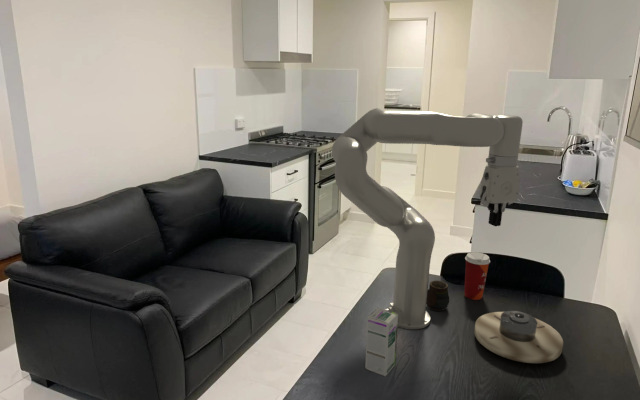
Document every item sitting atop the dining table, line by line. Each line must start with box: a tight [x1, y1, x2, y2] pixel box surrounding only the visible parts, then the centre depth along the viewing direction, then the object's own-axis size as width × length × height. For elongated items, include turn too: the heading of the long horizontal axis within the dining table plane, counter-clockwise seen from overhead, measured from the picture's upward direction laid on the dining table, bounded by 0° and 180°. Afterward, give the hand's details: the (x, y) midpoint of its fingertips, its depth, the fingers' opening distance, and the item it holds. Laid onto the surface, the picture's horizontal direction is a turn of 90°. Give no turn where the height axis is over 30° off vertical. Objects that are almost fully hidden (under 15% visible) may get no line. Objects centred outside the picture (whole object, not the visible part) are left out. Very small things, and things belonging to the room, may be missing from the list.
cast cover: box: [499, 310, 537, 342], centre depth 128 cm, size 9×9×5 cm
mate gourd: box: [426, 279, 450, 312], centre depth 147 cm, size 7×8×10 cm
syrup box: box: [364, 307, 398, 377], centre depth 117 cm, size 6×6×14 cm
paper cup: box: [464, 251, 491, 301], centre depth 155 cm, size 8×8×14 cm
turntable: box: [474, 311, 564, 364], centre depth 129 cm, size 22×22×2 cm
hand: (494, 224), depth 136 cm, fingers closed
